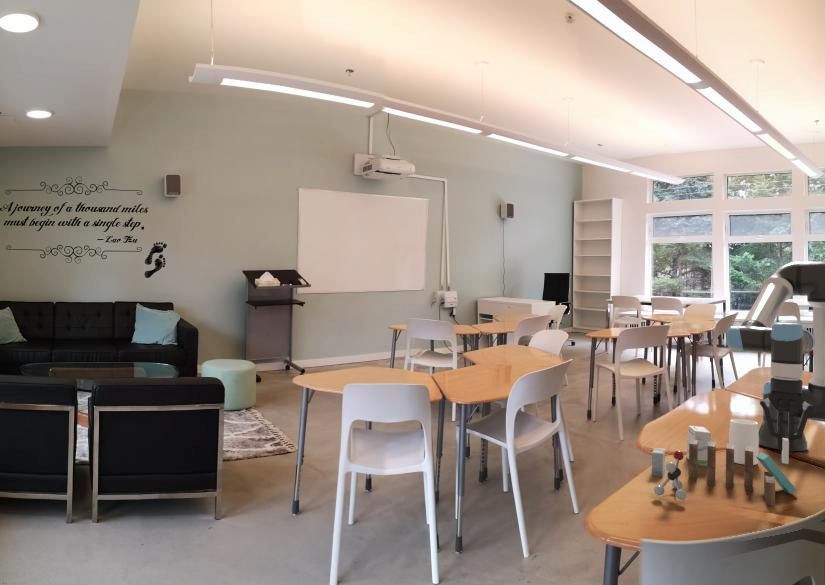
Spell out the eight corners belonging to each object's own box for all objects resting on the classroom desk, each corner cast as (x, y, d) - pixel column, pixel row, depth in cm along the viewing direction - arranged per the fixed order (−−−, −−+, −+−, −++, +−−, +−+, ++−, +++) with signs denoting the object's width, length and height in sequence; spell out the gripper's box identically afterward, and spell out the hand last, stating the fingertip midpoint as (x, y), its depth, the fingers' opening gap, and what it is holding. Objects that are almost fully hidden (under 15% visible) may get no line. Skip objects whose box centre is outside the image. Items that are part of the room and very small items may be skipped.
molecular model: (652, 495, 159) (653, 456, 159) (663, 484, 169) (663, 447, 169) (685, 502, 155) (685, 461, 155) (694, 490, 164) (694, 452, 164)
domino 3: (733, 482, 172) (734, 444, 172) (733, 487, 167) (734, 449, 167) (725, 480, 173) (726, 443, 173) (725, 486, 168) (726, 448, 168)
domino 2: (715, 479, 174) (715, 442, 174) (714, 484, 169) (715, 446, 169) (707, 478, 175) (708, 441, 175) (707, 483, 170) (707, 445, 170)
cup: (756, 470, 184) (757, 425, 184) (726, 465, 189) (727, 421, 189) (760, 464, 190) (760, 421, 190) (731, 460, 196) (731, 417, 196)
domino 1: (697, 476, 177) (697, 440, 177) (696, 482, 171) (696, 444, 171) (690, 475, 178) (690, 439, 178) (688, 480, 172) (689, 443, 172)
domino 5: (772, 472, 162) (775, 483, 153) (772, 494, 162) (774, 506, 153) (764, 471, 163) (766, 482, 154) (763, 492, 163) (765, 505, 153)
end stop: (664, 471, 181) (665, 448, 181) (662, 477, 175) (662, 453, 175) (654, 469, 183) (654, 447, 183) (651, 475, 177) (652, 452, 177)
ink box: (686, 460, 194) (686, 425, 194) (703, 461, 193) (703, 426, 193) (693, 468, 186) (693, 430, 186) (710, 469, 184) (711, 431, 185)
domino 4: (752, 484, 170) (752, 446, 170) (752, 490, 164) (753, 451, 164) (744, 483, 171) (744, 446, 171) (744, 489, 165) (745, 450, 165)
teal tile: (788, 485, 166) (761, 452, 168) (797, 490, 160) (768, 455, 162) (782, 489, 166) (755, 456, 168) (790, 494, 160) (762, 459, 163)
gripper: (812, 378, 164) (811, 462, 164) (758, 374, 170) (757, 455, 170) (816, 381, 157) (814, 469, 157) (759, 377, 163) (758, 462, 163)
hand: (785, 462), depth 163 cm, fingers closed
